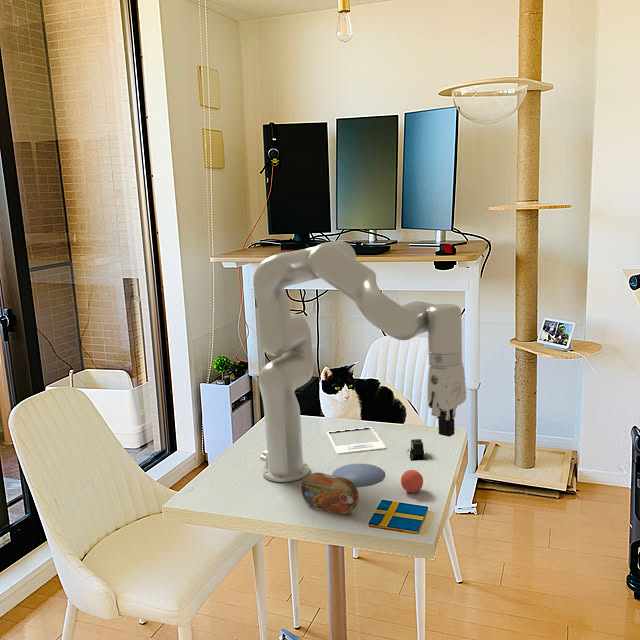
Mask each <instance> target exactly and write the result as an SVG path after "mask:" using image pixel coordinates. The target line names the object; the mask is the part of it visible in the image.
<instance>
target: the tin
mask: <svg viewBox="0 0 640 640" xmlns="http://www.w3.org/2000/svg"><path fill="white" fill-rule="evenodd" d="M300 487H301V488H300V489H301V491H300V492H301V494H302V497H303V500H304V501H305V502H306V503H307V505H309V506H310V507H311V508H313V507H315V508H314V509H316V508H318V509H317V510H320V509H322V510H321V511H324V510H325V512H328V511H329V513H332V514H336V515H339V516H340V515H341V516H345V515H346V516H347V515H349V514H350V513H351V512H352V511H353V510H355V509H356V508H357V506H358V504H359V498H360V497H359V490H358V488H357V487H356V486H355V485H354V484H353V483H352V482H351V481H350V480H348V479H346V478H342V477H338V476H333V475H332V474H328V473H323V472H314V473H311V474H307V475H306V476H305V477H303V480H302V482H301V484H300ZM312 506H313V507H312Z"/></svg>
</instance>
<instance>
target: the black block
mask: <svg viewBox="0 0 640 640" xmlns="http://www.w3.org/2000/svg"><path fill="white" fill-rule="evenodd" d="M410 450H411V451H410V457H409V459H410V461H411V462H417V461H419V462H420V461H429V458H428V455H427V454H426V455H427V456H426V455H425V454H424V451H425V449H424V443H423V441H422V439H421V438H417V439H410Z"/></svg>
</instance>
